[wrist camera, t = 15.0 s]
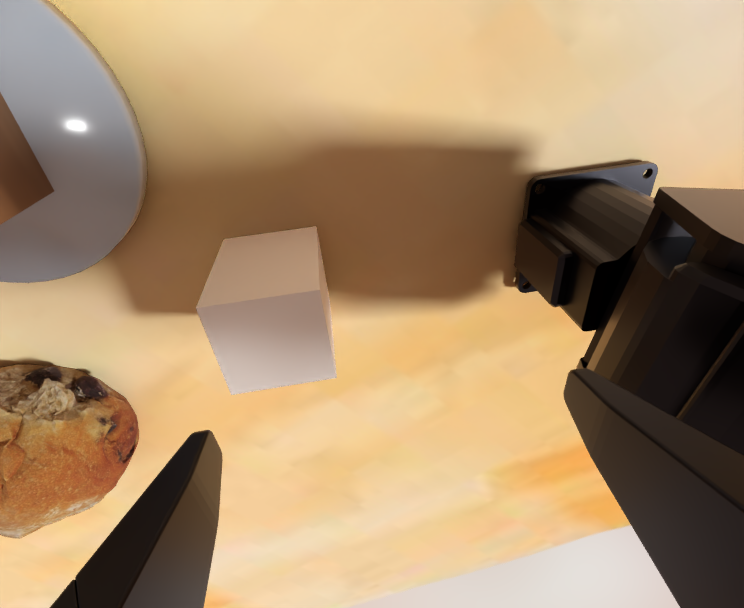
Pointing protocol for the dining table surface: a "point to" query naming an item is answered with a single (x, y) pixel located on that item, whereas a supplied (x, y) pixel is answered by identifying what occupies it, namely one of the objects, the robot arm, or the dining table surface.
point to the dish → (67, 145)
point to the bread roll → (58, 444)
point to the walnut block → (18, 169)
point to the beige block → (269, 311)
